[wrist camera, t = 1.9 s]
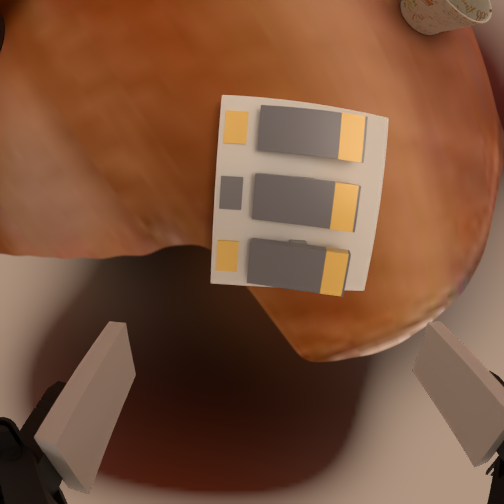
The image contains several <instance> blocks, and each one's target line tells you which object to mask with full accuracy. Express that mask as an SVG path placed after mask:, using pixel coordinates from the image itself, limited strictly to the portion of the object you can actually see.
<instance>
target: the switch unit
mask: <svg viewBox="0 0 504 504" xmlns="http://www.w3.org/2000/svg"><path fill="white" fill-rule="evenodd" d="M261 105H271V106H285V107H297V108H307V109H317V110H325V111H333V112H341V113H342V112H343V113H350V114H356V115H362V116H367V117H368V119H367V133H366V145H365V155H364V163H358V162H352V161H345V160H338V159H332V158H324V157H316V156H308V155H299V154H289V153H279V152H268V151H258V150H257V146H258V134H259V122H260V109H261ZM388 120H389V118H386V117H382V116H377V115H373V114H368V113H364V112H359V111H354V110H348V109H343V108H338V107H332V106H326V105H319V104H313V103H306V102H298V101H290V100H282V99H272V98H262V97H249V96H234V95H222V100H221V112H220V124H219V137H218V150H217V165H216V180H215V197H214V215H213V236H212V260H211V283H214V284H229V285H245V286H263V287H271V286H264V285H257V284H250V283H247V272H248V259H249V246H250V241H251V239H252V238H260V239H268V240H276V241H284V242H291V243H299V244H307V245H314V246H322V247H331V248H339V249H346V250H349V251H350V253H351V258H350V263H349V269H348V274H347V279H346V285H345V290H356V291H364V288H365V284H366V279H367V274H368V269H369V264H370V259H371V254H372V249H373V243H374V237H375V232H376V226H377V219H378V213H379V206H380V199H381V191H382V184H383V175H384V166H385V157H386V146H387V134H388ZM255 173H265V174H275V175H285V176H294V177H303V178H311V179H319V180H327V181H336V182H343V183H350V184H357V185H360V186H361V191H360V199H359V207H358V214H357V221H356V227H355V232H346V231H338V230H331V229H326V228H318V227H311V226H303V225H295V224H287V223H279V222H271V221H262V220H254V219H252V208H253V196H254V183H255Z"/></svg>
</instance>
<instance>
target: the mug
mask: <svg viewBox="0 0 504 504" xmlns="http://www.w3.org/2000/svg"><path fill="white" fill-rule="evenodd" d="M400 9H401V13H402V15H403V17H404V19H405V20H406V22H407V23H408V24H409V25H410V26H411V27H412V28H413V29H415V30H416V31H418V32H420V33H422V34H425V35H434V34H438V33H442V32H446V31H450V30H454V29H459V28H463V27H468V26H473V25H478V24H482V23H485V22H487V21H488V20H489V19H490V17H491V14H492V8H491V3H490V0H402V1H401V4H400Z"/></svg>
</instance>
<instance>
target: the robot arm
mask: <svg viewBox="0 0 504 504" xmlns="http://www.w3.org/2000/svg"><path fill="white" fill-rule="evenodd" d="M3 37H4V21H3V18H2V16H1V15H0V49H1V46H2V42H3ZM412 371H413V373H414V374H415V375H416V377H417V378H418V380H419V381H420V382H421V384H422V386H423V387H424V389H425V390H426V392H427V393H428V395H429V396H430V398H431V399H432V401H433V402H434V403H435V405H436V407H437V408H438V410H439V411H440V413H441V414H442V416H443V417H444V419H445V420H446V422H447V423H448V425H449V427H450V428H451V430H452V431H453V433H454V435H455V436H456V438H457V439H458V441H459V443H460V444H461V446H462V447H463V449H464V451H465V452H466V454H467V455H468V457H469V459H470V461H471V462H472V464H473V466H474V467H477V466H480V465H482V464H484V463H486V462H488V461H489V460H490V458H491V457H492V456H493V455H494V453H495V452H497V453H498V454H499V456H498V457H497V459H496V460H495V461H494V462H493V464H492V465H491V466H490V467H489V468H488V470H487V471H486V474H487V475H488V473H489V472H490V471H491V470H492V468H494V471H493V472H492V474H491V476H493V478H492V484H491V489H490V494H489V499H488V503H487V504H504V382H503V381H502V379H501V378H500V377H499V376H497V375H496V374H494V373H493V372H491V371H488V370H487V368H486V367H485V366H484V365H483V364H482V363H481V362H480V361H479V360H478V359H477V358H476V357H475V356H474V355H473V354H472V353H471V352H470V351H469V350H468V349H467V348H466V347H465V346H464V345H463V343H462V342H461V341H459V340H458V338H457V337H456V336H455V335H454V334H453V333H452V332H450V330H448V328H446V327H445V326H444V325H443V324H442V323H441V322H429V323H428V324H427V327H426V330H425V334H424V337H423V340H422V343H421V346H420V349H419V352H418V355H417V358H416V361H415V364H414V366H413V369H412ZM135 375H136V373H135V369H134V364H133V359H132V354H131V349H130V344H129V339H128V334H127V327H126V323H121V322H109V323H108V324H107V325H106V327H105V328H104V330H103V331H102V332H101V334H100V335H99V337H98V338H97V339H96V341H95V342H94V344H93V345H92V347H91V348H90V350H89V351H88V353H87V354H86V356H85V357H84V358H83V360H82V362H81V363H80V364H79V366H78V367H77V369H76V370H75V372H74V373H73V375H72V376H71V378H70V380H69V381H68V383H64V382H60V381H58V382H56V383H55V384H53V385H52V386H51V387H49V388H48V389H47V391H46V392H45V393H44V395H43V396H42V398H41V400H40V401H39V402H38V404H37V405H36V408H34V410H33V411H32V413H31V414H30V416H29V417H28V419H27V420H26V422H25V424H24V425H23V427H22V428H21V430H20V431H19V429H18V427H17V426H16V424H15V423H14V422H13V421H12V420H11V419H8V418H5V417H0V504H67V502H66V499H65V497H64V495H63V492H62V491H61V489H60V488H59V486H60V484H61V481H62V480H63V481H64V482H65V484H66V485H67V486H68V487H69V488H71V489H74V490H77V491H80V492H83V493H86V494H89V493H90V490H91V488H92V485H93V482H94V479H95V476H96V473H97V470H98V468H99V465H100V463H101V460H102V457H103V455H104V452H105V449H106V446H107V444H108V441H109V439H110V436H111V434H112V431H113V429H114V426H115V424H116V421H117V419H118V416H119V414H120V411H121V409H122V406H123V404H124V401H125V399H126V397H127V394H128V392H129V389H130V387H131V384H132V382H133V380H134V378H135Z"/></svg>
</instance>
